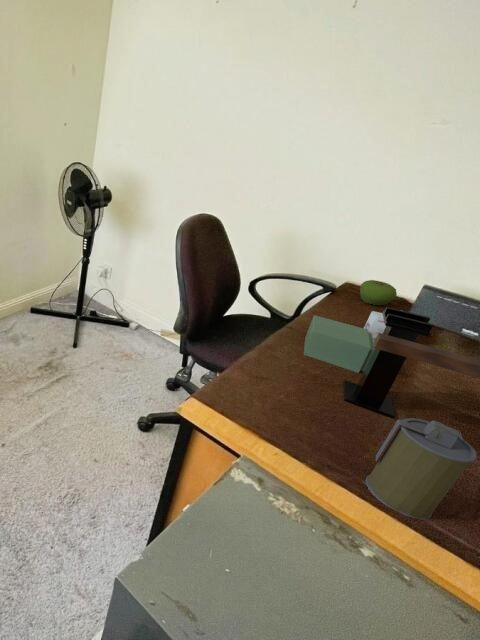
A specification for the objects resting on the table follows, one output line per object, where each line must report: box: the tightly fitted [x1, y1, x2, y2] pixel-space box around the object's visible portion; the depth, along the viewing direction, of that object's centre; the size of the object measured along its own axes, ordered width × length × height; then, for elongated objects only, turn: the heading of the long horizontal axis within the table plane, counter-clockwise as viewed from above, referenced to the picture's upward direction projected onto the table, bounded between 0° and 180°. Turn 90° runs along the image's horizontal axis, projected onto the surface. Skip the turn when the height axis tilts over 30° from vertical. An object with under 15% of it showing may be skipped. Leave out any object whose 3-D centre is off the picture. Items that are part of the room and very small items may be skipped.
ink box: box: [363, 310, 386, 343], centre depth 135 cm, size 9×5×12 cm, turn 59°
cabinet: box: [303, 314, 371, 374], centre depth 131 cm, size 14×13×10 cm
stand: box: [342, 306, 434, 420], centre depth 109 cm, size 10×10×28 cm
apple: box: [359, 279, 398, 306], centre depth 163 cm, size 11×10×10 cm
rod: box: [374, 333, 480, 379], centre depth 94 cm, size 20×3×3 cm, turn 51°
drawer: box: [359, 334, 375, 373], centre depth 129 cm, size 17×11×8 cm
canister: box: [365, 417, 478, 520], centre depth 83 cm, size 11×10×20 cm
